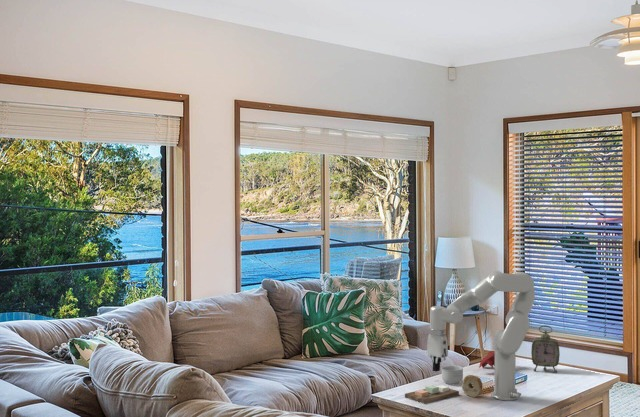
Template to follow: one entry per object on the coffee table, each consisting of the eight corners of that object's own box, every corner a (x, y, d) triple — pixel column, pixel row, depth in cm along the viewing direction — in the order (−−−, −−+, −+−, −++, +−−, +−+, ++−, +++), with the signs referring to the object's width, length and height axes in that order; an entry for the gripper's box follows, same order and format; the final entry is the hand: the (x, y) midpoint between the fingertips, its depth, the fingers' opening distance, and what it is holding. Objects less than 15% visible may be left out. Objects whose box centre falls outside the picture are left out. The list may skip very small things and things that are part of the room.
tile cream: (448, 392, 335) (448, 387, 335) (442, 393, 332) (442, 388, 332) (442, 390, 338) (442, 385, 338) (435, 391, 336) (435, 386, 335)
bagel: (484, 397, 329) (484, 376, 329) (479, 399, 327) (479, 377, 327) (465, 393, 337) (465, 372, 337) (461, 394, 334) (461, 373, 334)
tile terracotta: (428, 397, 326) (428, 391, 326) (421, 398, 324) (421, 393, 324) (421, 394, 330) (421, 389, 330) (414, 396, 327) (414, 391, 327)
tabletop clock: (531, 371, 379) (531, 326, 379) (531, 368, 388) (531, 323, 387) (559, 374, 375) (560, 327, 374) (558, 370, 384) (559, 324, 383)
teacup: (456, 387, 347) (457, 371, 347) (437, 383, 354) (437, 367, 354) (469, 381, 358) (469, 365, 358) (449, 378, 365) (450, 362, 365)
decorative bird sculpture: (475, 381, 375) (491, 364, 368) (464, 367, 380) (480, 350, 373) (504, 372, 394) (520, 356, 387) (494, 359, 399) (510, 343, 392)
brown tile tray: (458, 394, 333) (458, 391, 333) (423, 403, 319) (423, 399, 319) (440, 389, 343) (440, 385, 343) (404, 397, 328) (404, 393, 328)
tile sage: (438, 392, 330) (438, 387, 330) (432, 393, 328) (432, 388, 328) (431, 390, 334) (432, 384, 334) (425, 391, 331) (425, 386, 331)
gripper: (454, 334, 329) (453, 373, 329) (431, 329, 341) (430, 366, 341) (443, 336, 324) (442, 375, 325) (420, 330, 336) (419, 368, 337)
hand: (436, 370), depth 333 cm, fingers closed
